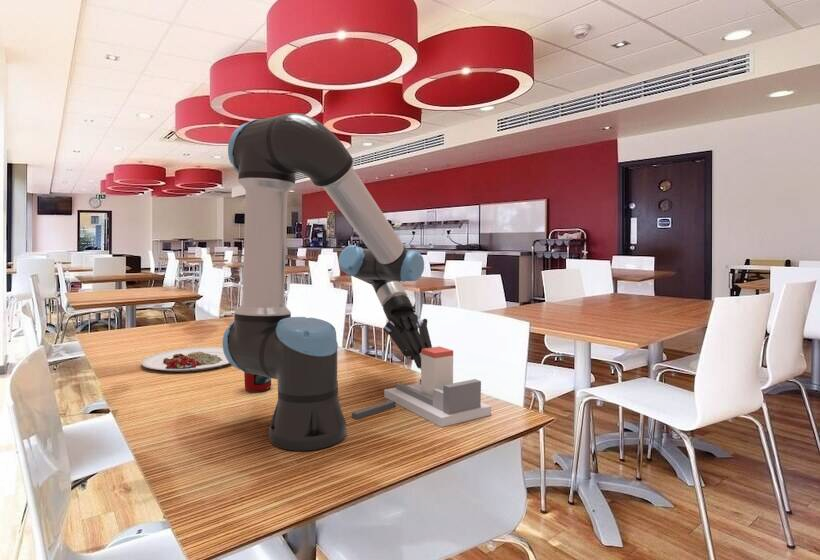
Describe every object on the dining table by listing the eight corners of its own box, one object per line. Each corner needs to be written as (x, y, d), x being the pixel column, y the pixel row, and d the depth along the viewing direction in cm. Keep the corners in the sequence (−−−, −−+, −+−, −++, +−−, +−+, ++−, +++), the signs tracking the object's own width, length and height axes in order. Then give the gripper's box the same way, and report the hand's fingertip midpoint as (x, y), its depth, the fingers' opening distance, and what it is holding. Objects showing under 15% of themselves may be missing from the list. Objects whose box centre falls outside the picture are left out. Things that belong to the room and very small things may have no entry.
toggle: (420, 395, 120) (421, 348, 119) (439, 391, 123) (439, 346, 122) (434, 401, 116) (434, 353, 115) (452, 397, 119) (453, 350, 118)
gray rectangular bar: (356, 421, 111) (356, 414, 111) (352, 419, 112) (352, 412, 112) (395, 408, 119) (395, 401, 119) (390, 406, 120) (390, 400, 120)
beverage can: (263, 393, 129) (262, 347, 128) (239, 392, 130) (238, 346, 129) (275, 386, 135) (275, 342, 134) (252, 384, 137) (252, 341, 136)
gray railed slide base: (384, 397, 126) (384, 366, 126) (429, 388, 134) (430, 359, 133) (441, 427, 106) (441, 390, 106) (491, 414, 114) (491, 380, 113)
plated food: (243, 350, 181) (243, 340, 180) (243, 370, 152) (243, 359, 152) (150, 355, 171) (150, 345, 171) (132, 379, 143) (131, 367, 143)
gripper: (409, 309, 141) (444, 381, 129) (369, 312, 134) (402, 389, 122) (420, 292, 137) (458, 366, 124) (379, 294, 129) (415, 373, 117)
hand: (430, 377), depth 123 cm, fingers closed
